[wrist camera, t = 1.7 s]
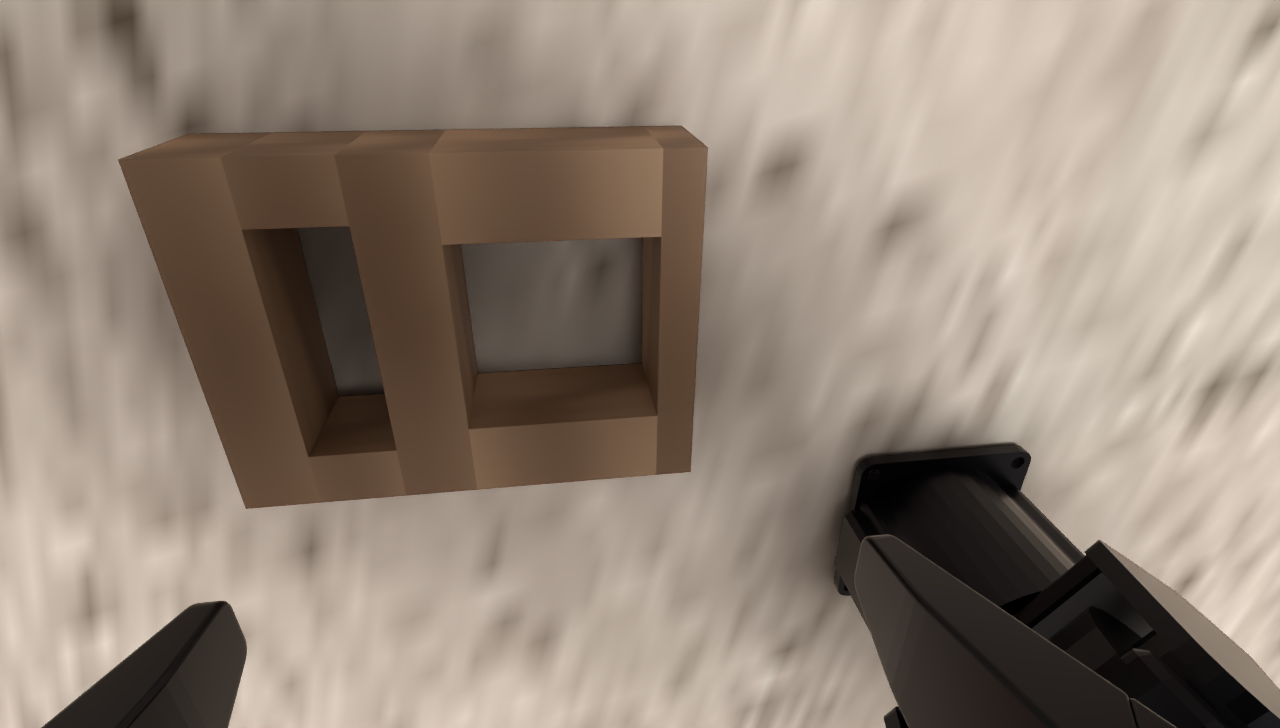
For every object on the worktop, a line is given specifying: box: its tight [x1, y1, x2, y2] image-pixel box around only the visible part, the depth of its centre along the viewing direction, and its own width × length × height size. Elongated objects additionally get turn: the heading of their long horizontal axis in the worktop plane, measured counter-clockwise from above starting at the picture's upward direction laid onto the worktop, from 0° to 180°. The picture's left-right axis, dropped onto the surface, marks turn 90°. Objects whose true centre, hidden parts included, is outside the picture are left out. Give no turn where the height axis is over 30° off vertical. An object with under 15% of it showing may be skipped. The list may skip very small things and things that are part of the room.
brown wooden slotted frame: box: [119, 126, 708, 509], centre depth 17 cm, size 12×9×3 cm
